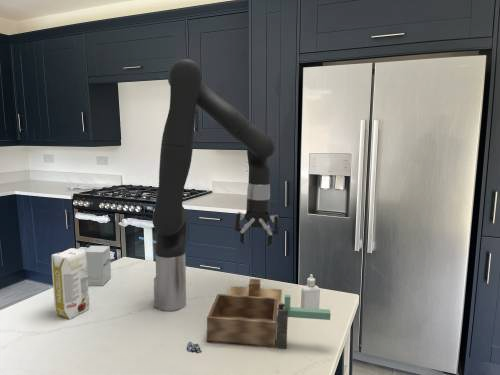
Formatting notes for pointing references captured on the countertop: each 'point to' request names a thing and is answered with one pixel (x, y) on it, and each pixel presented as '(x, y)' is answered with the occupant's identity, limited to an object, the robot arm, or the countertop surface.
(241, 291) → the lid
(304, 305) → the eye dropper bottle
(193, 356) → the countertop surface
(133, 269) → the countertop surface
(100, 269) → the supplement box
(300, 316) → the green bar
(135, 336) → the countertop surface
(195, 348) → the blueberries
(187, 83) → the robot arm
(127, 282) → the countertop surface
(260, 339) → the wooden box
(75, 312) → the juice carton
